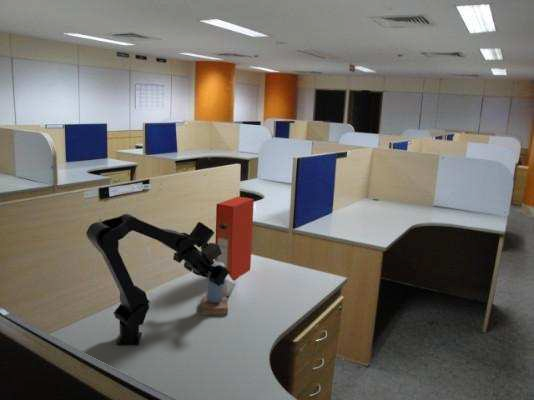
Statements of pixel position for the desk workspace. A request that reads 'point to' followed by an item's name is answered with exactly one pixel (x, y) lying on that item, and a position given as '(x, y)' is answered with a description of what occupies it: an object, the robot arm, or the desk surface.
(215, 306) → the base slab
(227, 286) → the die
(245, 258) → the file binder
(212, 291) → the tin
